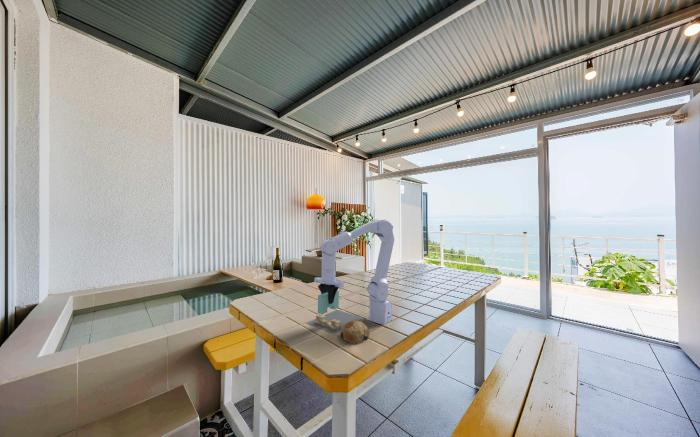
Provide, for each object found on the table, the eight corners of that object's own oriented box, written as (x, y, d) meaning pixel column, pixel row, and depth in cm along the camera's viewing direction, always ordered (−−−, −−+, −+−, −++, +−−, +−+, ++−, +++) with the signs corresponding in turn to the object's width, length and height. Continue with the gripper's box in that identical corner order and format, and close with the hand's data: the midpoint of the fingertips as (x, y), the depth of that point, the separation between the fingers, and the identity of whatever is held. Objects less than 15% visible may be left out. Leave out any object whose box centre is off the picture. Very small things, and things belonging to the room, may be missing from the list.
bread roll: (355, 356, 84) (364, 338, 83) (333, 337, 89) (341, 319, 88) (368, 344, 93) (376, 327, 91) (347, 327, 98) (355, 310, 96)
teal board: (338, 307, 103) (338, 291, 104) (322, 314, 95) (322, 296, 96) (334, 306, 105) (334, 290, 105) (317, 312, 97) (318, 295, 97)
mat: (364, 318, 108) (364, 317, 108) (334, 335, 92) (334, 334, 92) (336, 310, 118) (336, 309, 118) (305, 324, 102) (305, 323, 102)
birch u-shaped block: (341, 328, 97) (341, 321, 97) (337, 330, 95) (337, 322, 96) (319, 321, 104) (319, 314, 104) (316, 322, 103) (316, 315, 103)
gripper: (309, 268, 102) (308, 301, 101) (335, 273, 93) (335, 309, 93) (321, 266, 107) (320, 297, 107) (347, 270, 98) (346, 304, 98)
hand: (328, 302), depth 100 cm, fingers closed on teal board, 2 cm apart
